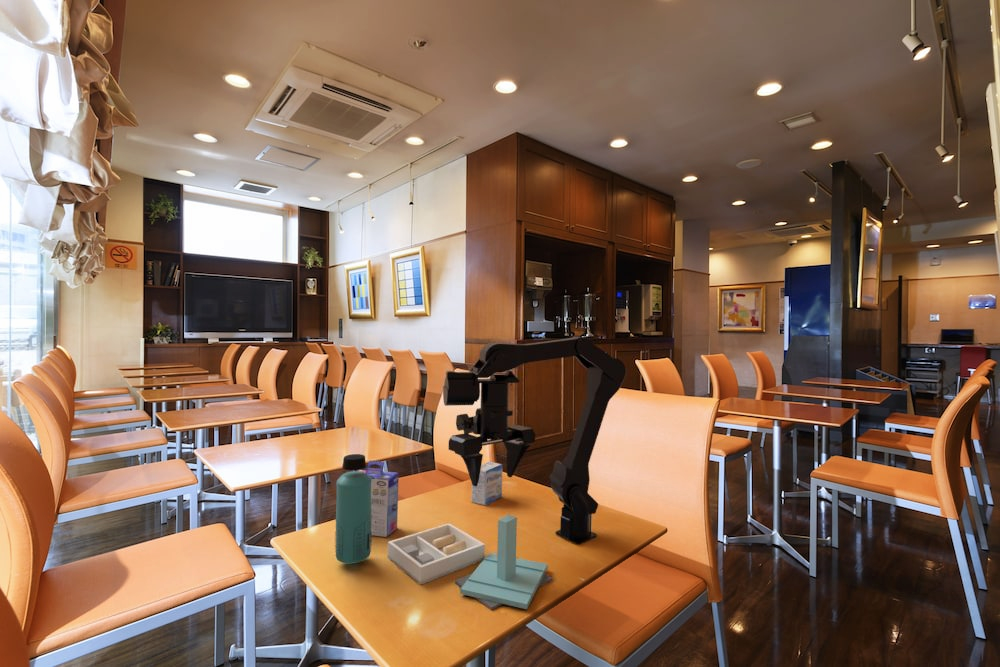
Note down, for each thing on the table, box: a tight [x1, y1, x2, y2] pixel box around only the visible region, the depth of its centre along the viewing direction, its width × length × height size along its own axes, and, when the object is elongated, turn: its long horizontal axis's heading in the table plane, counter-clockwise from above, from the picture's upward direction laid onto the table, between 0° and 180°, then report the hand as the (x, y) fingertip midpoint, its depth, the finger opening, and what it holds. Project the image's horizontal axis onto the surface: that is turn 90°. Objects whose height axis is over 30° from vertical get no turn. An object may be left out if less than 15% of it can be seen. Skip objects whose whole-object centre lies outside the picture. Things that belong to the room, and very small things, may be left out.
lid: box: [459, 514, 548, 610], centre depth 81 cm, size 13×11×11 cm
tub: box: [387, 522, 486, 586], centre depth 88 cm, size 14×12×3 cm
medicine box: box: [470, 461, 503, 506], centre depth 120 cm, size 8×4×9 cm, turn 147°
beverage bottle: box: [334, 453, 373, 564], centre depth 86 cm, size 6×7×20 cm
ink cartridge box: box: [357, 460, 399, 538], centre depth 100 cm, size 10×6×14 cm, turn 78°
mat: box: [454, 556, 554, 611], centre depth 81 cm, size 14×10×1 cm
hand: (492, 481), depth 95 cm, fingers open, 9 cm apart
